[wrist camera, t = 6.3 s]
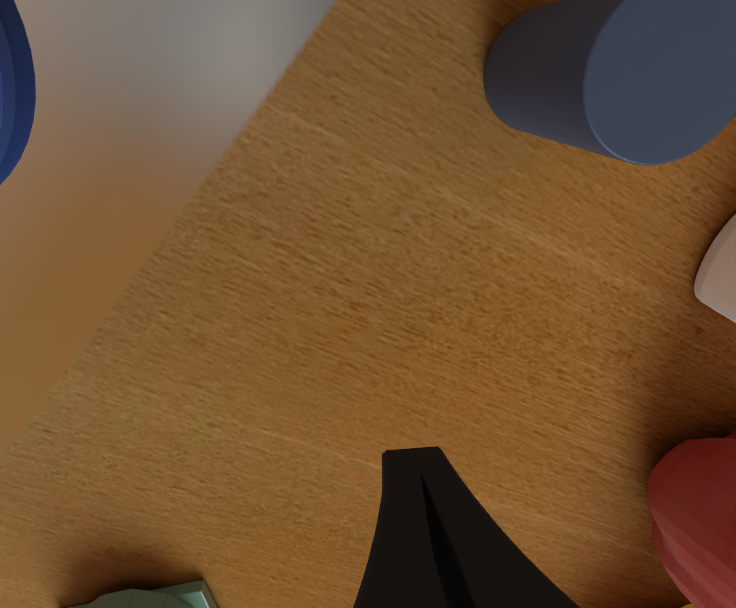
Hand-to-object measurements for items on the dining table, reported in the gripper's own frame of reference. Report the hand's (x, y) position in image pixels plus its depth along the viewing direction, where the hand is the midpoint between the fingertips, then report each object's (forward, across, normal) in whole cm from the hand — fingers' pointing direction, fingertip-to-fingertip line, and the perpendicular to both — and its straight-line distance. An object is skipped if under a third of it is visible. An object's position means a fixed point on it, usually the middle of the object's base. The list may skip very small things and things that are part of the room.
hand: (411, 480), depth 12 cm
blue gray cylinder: (+10, -6, -9) cm, 15 cm away
